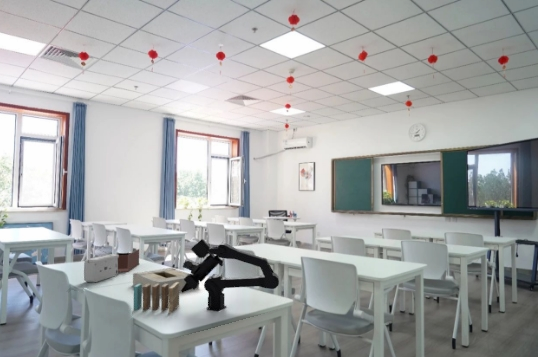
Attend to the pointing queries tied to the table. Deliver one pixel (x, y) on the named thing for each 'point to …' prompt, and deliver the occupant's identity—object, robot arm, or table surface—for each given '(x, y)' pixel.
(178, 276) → the box
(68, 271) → the table surface
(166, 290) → the domino
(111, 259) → the stereo radio cassette player
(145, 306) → the domino
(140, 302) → the domino
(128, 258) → the desk organizer
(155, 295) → the domino
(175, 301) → the square wooden board
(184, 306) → the table surface
